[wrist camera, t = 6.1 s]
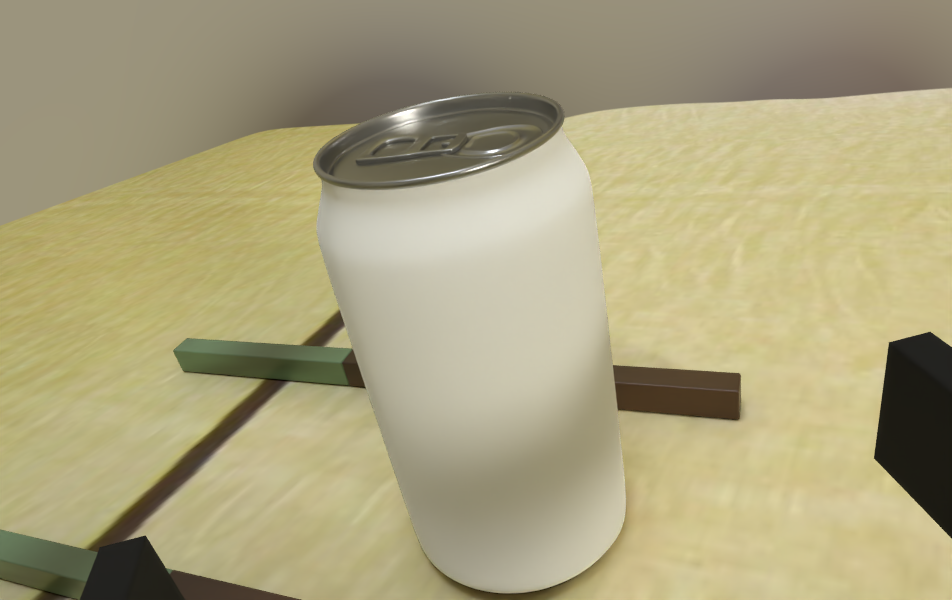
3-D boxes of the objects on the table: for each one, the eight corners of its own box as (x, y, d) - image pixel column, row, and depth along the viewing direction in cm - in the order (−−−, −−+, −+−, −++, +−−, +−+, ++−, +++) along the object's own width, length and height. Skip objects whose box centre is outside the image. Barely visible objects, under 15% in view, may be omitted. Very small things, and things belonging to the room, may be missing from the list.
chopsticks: (-33, 569, 24) (-53, 546, 23) (196, 358, 33) (186, 337, 33) (710, 774, 15) (709, 743, 14) (741, 400, 24) (740, 372, 23)
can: (613, 621, 18) (549, 181, 12) (384, 586, 20) (233, 200, 14) (640, 444, 23) (605, 74, 17) (455, 431, 25) (367, 100, 19)
